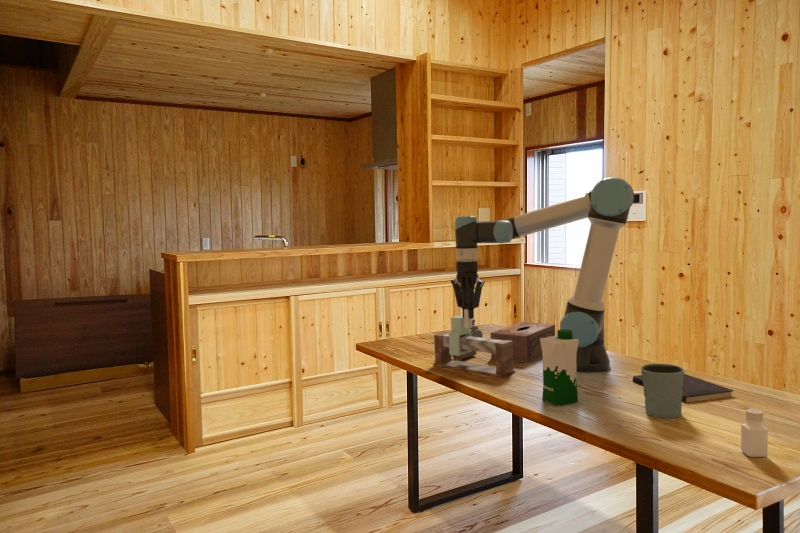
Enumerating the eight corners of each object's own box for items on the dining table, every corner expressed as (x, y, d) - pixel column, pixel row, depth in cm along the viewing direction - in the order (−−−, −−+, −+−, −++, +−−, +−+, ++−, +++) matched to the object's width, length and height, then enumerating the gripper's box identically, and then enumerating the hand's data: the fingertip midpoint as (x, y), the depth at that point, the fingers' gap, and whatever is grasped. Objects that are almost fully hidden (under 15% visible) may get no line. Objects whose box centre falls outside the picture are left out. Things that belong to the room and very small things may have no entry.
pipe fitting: (452, 339, 256) (455, 316, 254) (467, 338, 260) (469, 315, 259) (469, 346, 246) (472, 322, 244) (484, 345, 250) (487, 322, 248)
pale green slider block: (471, 351, 210) (470, 315, 209) (458, 355, 204) (457, 319, 203) (462, 350, 213) (461, 314, 212) (449, 354, 207) (448, 318, 206)
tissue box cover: (526, 363, 211) (526, 336, 210) (491, 359, 220) (490, 332, 219) (555, 349, 232) (554, 324, 231) (521, 345, 240) (521, 321, 240)
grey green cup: (692, 416, 150) (693, 370, 149) (660, 421, 147) (659, 374, 146) (664, 405, 160) (664, 361, 159) (633, 409, 157) (632, 365, 156)
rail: (514, 372, 199) (514, 339, 198) (502, 377, 193) (501, 343, 192) (446, 361, 218) (445, 331, 217) (433, 365, 212) (432, 334, 211)
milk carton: (583, 402, 164) (582, 332, 163) (556, 407, 161) (555, 335, 159) (562, 394, 172) (561, 327, 171) (537, 399, 169) (535, 330, 167)
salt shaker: (739, 450, 128) (740, 408, 127) (759, 450, 127) (759, 407, 127) (748, 458, 124) (749, 414, 123) (768, 458, 123) (769, 414, 123)
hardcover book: (675, 377, 187) (675, 370, 187) (733, 398, 165) (733, 390, 165) (632, 383, 183) (632, 375, 183) (685, 404, 161) (685, 396, 161)
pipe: (463, 338, 236) (440, 336, 232) (482, 346, 220) (458, 344, 217) (461, 354, 236) (439, 352, 233) (480, 363, 220) (456, 361, 217)
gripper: (445, 260, 205) (447, 327, 207) (476, 261, 196) (477, 331, 198) (458, 259, 211) (459, 324, 212) (488, 260, 202) (490, 327, 204)
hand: (468, 327), depth 205 cm, fingers closed
